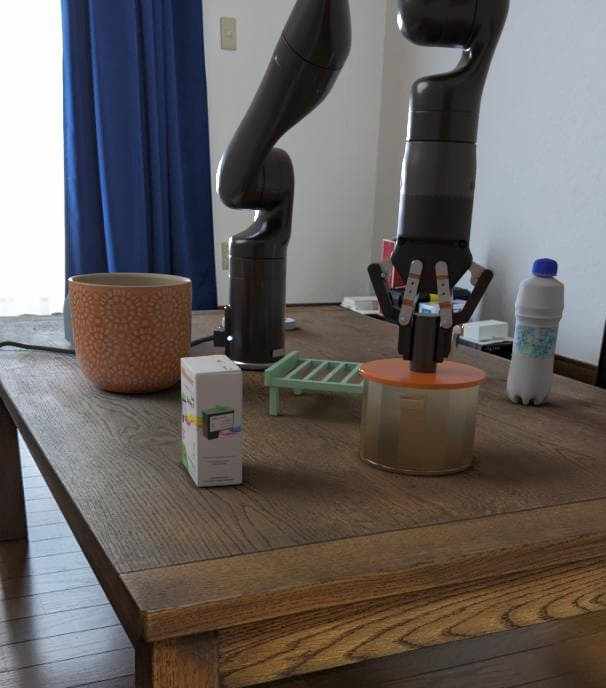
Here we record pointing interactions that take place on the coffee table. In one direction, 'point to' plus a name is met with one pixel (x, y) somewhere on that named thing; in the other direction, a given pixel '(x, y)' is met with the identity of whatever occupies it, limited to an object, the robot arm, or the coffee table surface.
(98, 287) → the planter
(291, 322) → the game controller
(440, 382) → the lid
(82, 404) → the coffee table surface
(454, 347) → the milkshake
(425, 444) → the pot
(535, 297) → the bottle
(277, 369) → the rack
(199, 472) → the ink box
